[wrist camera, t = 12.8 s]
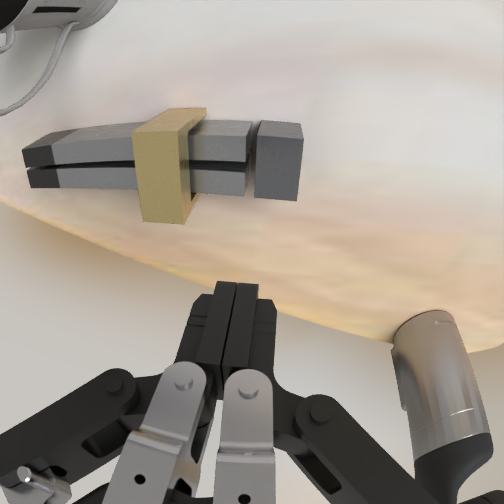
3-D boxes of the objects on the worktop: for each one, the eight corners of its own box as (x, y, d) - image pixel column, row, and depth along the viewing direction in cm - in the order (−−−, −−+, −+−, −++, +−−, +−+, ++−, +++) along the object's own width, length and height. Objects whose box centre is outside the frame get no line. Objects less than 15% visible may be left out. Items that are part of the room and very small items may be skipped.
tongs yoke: (300, 123, 22) (303, 139, 19) (294, 176, 25) (296, 201, 22) (262, 120, 23) (257, 135, 19) (259, 173, 25) (254, 197, 22)
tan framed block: (205, 108, 22) (177, 130, 16) (207, 180, 26) (184, 224, 20) (169, 108, 22) (131, 132, 17) (174, 179, 26) (143, 221, 20)
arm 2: (251, 152, 24) (245, 172, 20) (250, 172, 25) (244, 196, 22) (54, 152, 25) (26, 170, 21) (57, 168, 26) (31, 188, 22)
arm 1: (252, 121, 22) (245, 136, 19) (251, 142, 24) (245, 161, 20) (50, 133, 24) (21, 149, 20) (53, 149, 25) (25, 167, 21)
